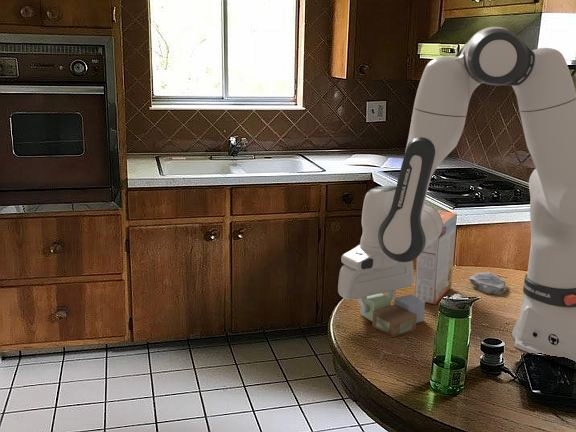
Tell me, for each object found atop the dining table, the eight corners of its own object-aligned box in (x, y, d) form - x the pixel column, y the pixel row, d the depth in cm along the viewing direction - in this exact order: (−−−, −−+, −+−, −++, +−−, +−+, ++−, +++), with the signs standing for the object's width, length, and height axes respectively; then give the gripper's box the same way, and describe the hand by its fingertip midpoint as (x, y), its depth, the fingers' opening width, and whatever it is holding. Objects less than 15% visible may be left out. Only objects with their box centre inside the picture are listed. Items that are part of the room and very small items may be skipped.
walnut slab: (416, 330, 149) (417, 314, 148) (393, 338, 145) (395, 322, 143) (393, 320, 154) (394, 304, 153) (371, 327, 150) (372, 311, 149)
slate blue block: (423, 321, 154) (425, 301, 152) (407, 325, 151) (408, 305, 150) (409, 313, 158) (410, 294, 156) (393, 317, 155) (394, 298, 154)
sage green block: (389, 318, 155) (391, 298, 153) (373, 322, 152) (374, 302, 151) (376, 310, 159) (377, 291, 157) (360, 314, 156) (361, 294, 155)
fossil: (514, 285, 170) (477, 276, 169) (509, 300, 170) (472, 291, 170) (501, 274, 181) (466, 266, 181) (496, 288, 181) (462, 280, 181)
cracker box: (430, 283, 177) (436, 209, 171) (451, 288, 174) (459, 212, 169) (411, 300, 165) (417, 221, 160) (434, 305, 162) (441, 225, 157)
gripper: (404, 244, 159) (400, 297, 163) (335, 256, 149) (333, 312, 153) (422, 251, 154) (417, 305, 158) (351, 265, 144) (349, 322, 147)
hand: (375, 309), depth 155 cm, fingers closed on sage green block, 5 cm apart
